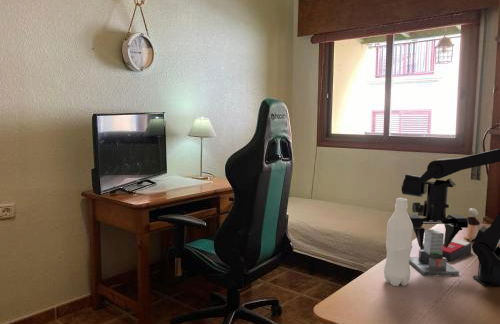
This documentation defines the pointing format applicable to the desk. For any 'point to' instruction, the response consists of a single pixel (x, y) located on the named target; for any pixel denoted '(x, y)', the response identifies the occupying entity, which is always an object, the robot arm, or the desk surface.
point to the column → (433, 241)
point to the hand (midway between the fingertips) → (433, 247)
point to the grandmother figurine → (472, 224)
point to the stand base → (432, 264)
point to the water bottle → (398, 245)
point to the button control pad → (455, 249)
